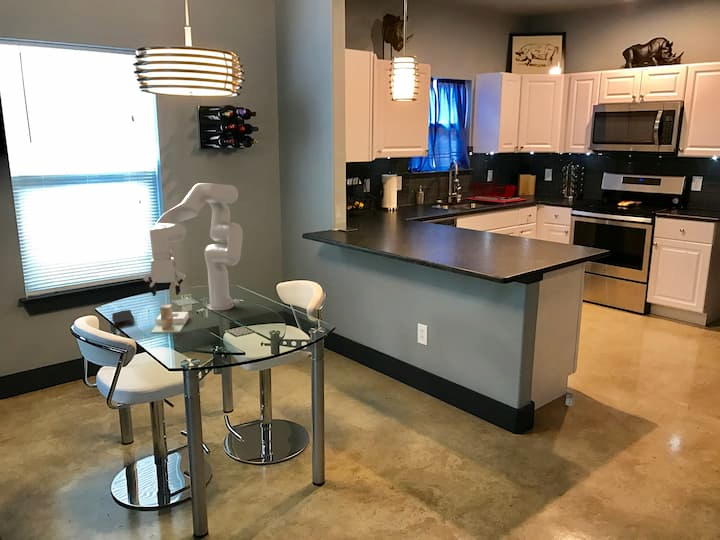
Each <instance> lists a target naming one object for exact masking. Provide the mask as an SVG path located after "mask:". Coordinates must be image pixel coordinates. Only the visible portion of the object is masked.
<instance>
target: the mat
mask: <svg viewBox="0 0 720 540" xmlns="http://www.w3.org/2000/svg"><path fill="white" fill-rule="evenodd" d="M184 327H185V325H184V324H181V325H173V328H172V329H170V330H162V325H157V324H156V325H154V328H153V329H152V330H151V332H150V334H168V333H171V334H173V333H181V331H182V330H183V328H184Z"/></svg>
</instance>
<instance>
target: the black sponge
mask: <svg viewBox="0 0 720 540" xmlns="http://www.w3.org/2000/svg"><path fill="white" fill-rule="evenodd" d="M111 318H112V320H113V322H114V324H113V325H114V326H113V327H115V328H121V327H125V326H130V325H134V324H135V318H134V315H133V313H132V311H131V310H130V309H126V310H120V311H117V312H116V311H115V312H113V313H112V317H111Z"/></svg>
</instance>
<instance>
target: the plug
mask: <svg viewBox="0 0 720 540" xmlns="http://www.w3.org/2000/svg"><path fill="white" fill-rule="evenodd" d="M159 309H160V314H161V323H162V330H170V329H172V328H173V314H172V312H173V306H172V304H161V306H160V308H159Z"/></svg>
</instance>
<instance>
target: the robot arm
mask: <svg viewBox="0 0 720 540" xmlns="http://www.w3.org/2000/svg"><path fill="white" fill-rule="evenodd" d="M238 197H239V192H238V189H237V188H236V187H235V185H232V184H222V183H221V184H220V183H211V182H210V183H208V182H207V183H206V182H202V183H201V182H199V183H196V184H194V186H193V187H192V188H191V190H190V191H189V192H188V193H187V194H186V196H185V197H184V199H182V201H181V203H179V204H178V205H175V206H174V207H173V208H171V209H168V210H167V211H166V212H164V213H163V214H162V215H161V216H160V217H159V218H158V220H157V221H156V222H155V224H154V227H151V228H150V230H149V238H150V246H151V255H152V256H151V257H152V259H151V260H150V261H151V262H150V272H149V273H148V274H145V275H144V276H143V277H142V280H144V281H145V284H147V285H148V286H149V287H150V291H151V294H152V296H153V297H155V296H156V295H157V289H156V287H157V286H156V285H155V284H158V283H161V284H162V283H173V284H175V294H176V296H178V295H180V292H181V284H182V283H183V281H184V279H185V277H186V274H184V273H182V272H180V271H178V270H177V266H176V265H177V264H176V262H175V258H174V257H175V254H176V253H175V252H173V251H172V250H171V243H173V242H180V241H182V240H184V239H185V238H186V236H187V229H186V227H185V226H184V225H182V224H181V223H179V222H182V221H185V220H186V221H187V220H190V219H192V218H195V217H197V215H198V214H199V213H200V212H201V210H202V209H203V207H204V205H206V203H208V204H209V206H210V208H211V222H210V231H209V236H210V239H212V240H213V241H216V242H220V243H213V244H209V245H207V246H206V247H205V249H204V253H203V254H204V258H205V264H206V268H207V277H208V278H207V279H208V294H209V303H208V304H207V305H206V309H207V310H211V311H226V310H227V311H228V310H230V309H232V308H233V307H234V305H239V302H240V300H239V299H236V298H235V299H233V298H231V297H232V296H230V287H229V286H230V285H229V271H228V268H227V266H236V265H237V264H238V263H239V261H240V259H241V254H242V246H243V236H244V235H243V234H244V233H243V232H244V231H243V229H242V227H241V225H240V224H239V223H237V222H230V221H231V210H230V208H229V206H228V204H234V203H235V202H236V201H237V199H238ZM221 242H222V243H227V244H222V243H221ZM178 277H179V278H180V279H178ZM149 278H151V279H149Z"/></svg>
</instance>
